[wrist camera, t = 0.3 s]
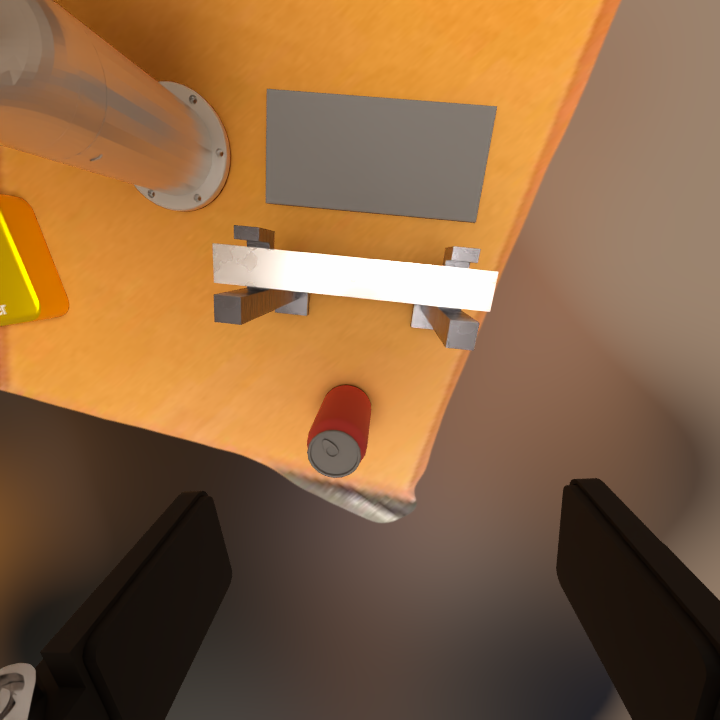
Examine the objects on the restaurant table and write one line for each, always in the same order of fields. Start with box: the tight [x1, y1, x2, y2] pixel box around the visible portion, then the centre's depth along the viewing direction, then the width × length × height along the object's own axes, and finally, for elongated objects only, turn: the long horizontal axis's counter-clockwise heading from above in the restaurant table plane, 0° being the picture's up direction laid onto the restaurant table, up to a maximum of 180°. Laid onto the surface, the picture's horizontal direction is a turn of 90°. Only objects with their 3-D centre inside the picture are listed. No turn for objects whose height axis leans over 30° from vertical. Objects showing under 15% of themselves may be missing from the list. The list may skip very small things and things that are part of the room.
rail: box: [213, 243, 498, 312], centre depth 27 cm, size 22×3×3 cm, turn 85°
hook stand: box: [214, 225, 480, 350], centre depth 32 cm, size 21×9×18 cm, turn 85°
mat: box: [266, 89, 497, 223], centre depth 36 cm, size 24×11×1 cm, turn 85°
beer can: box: [307, 385, 371, 478], centre depth 40 cm, size 7×7×12 cm
